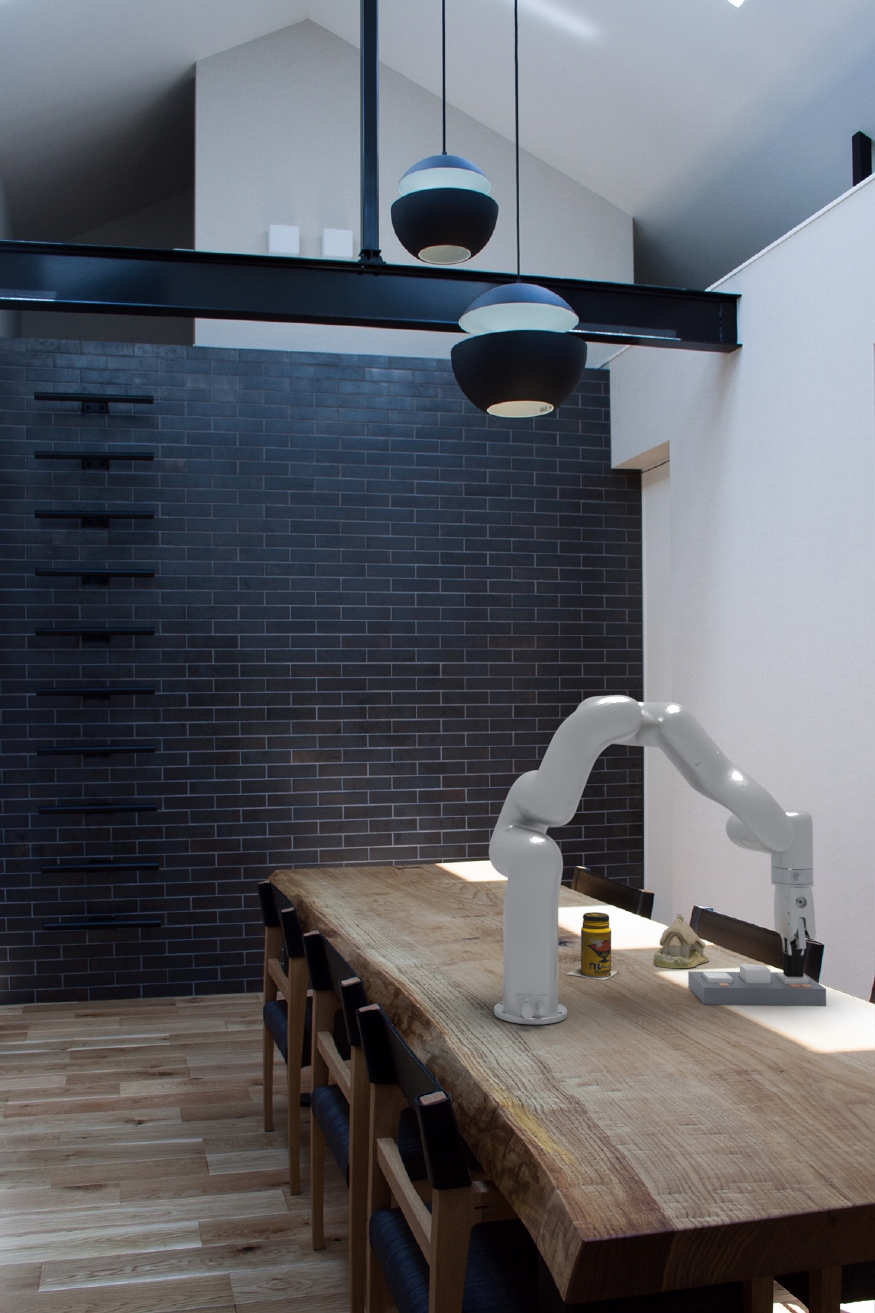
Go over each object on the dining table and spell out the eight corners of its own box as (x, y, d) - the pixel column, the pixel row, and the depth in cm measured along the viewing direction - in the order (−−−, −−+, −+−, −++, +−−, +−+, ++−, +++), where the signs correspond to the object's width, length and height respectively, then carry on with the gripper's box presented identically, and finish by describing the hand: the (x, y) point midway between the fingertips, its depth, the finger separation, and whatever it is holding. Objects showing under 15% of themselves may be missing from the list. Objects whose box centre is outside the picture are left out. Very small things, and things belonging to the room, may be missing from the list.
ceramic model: (660, 953, 232) (660, 907, 233) (712, 958, 227) (712, 911, 228) (645, 966, 219) (645, 918, 220) (700, 972, 215) (700, 922, 215)
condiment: (605, 980, 207) (605, 918, 208) (565, 975, 211) (565, 914, 212) (618, 973, 213) (618, 913, 214) (579, 967, 217) (579, 908, 218)
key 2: (770, 989, 194) (770, 970, 194) (746, 989, 194) (746, 970, 194) (763, 983, 198) (763, 964, 199) (739, 983, 198) (739, 964, 199)
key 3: (732, 997, 194) (732, 978, 194) (708, 997, 194) (708, 978, 194) (726, 991, 198) (726, 972, 198) (702, 991, 198) (702, 972, 198)
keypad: (826, 1005, 190) (825, 987, 190) (704, 1004, 190) (704, 986, 190) (803, 988, 202) (803, 971, 202) (688, 987, 202) (688, 970, 202)
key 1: (808, 998, 194) (808, 979, 194) (784, 998, 194) (784, 978, 194) (800, 992, 198) (800, 973, 198) (777, 992, 198) (777, 973, 198)
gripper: (826, 883, 190) (828, 986, 189) (798, 870, 205) (799, 966, 204) (785, 883, 190) (786, 986, 189) (759, 870, 205) (761, 966, 204)
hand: (793, 976), depth 196 cm, fingers closed
